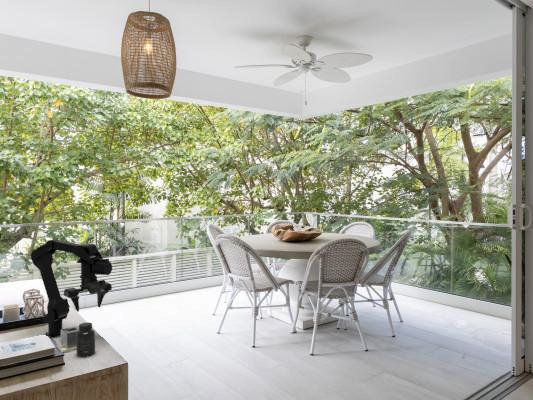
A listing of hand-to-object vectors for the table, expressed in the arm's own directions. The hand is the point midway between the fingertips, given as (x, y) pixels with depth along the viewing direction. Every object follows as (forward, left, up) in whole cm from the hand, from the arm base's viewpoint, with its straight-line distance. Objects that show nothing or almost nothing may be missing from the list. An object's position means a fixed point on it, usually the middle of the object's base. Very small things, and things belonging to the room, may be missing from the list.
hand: (88, 309), depth 183 cm
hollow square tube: (+4, -9, -12) cm, 16 cm away
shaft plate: (+4, -9, -13) cm, 16 cm away
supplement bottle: (+15, -8, -13) cm, 22 cm away
